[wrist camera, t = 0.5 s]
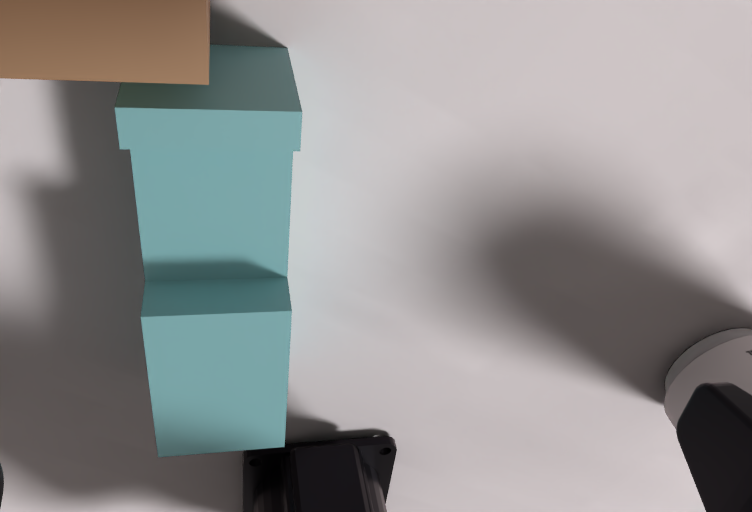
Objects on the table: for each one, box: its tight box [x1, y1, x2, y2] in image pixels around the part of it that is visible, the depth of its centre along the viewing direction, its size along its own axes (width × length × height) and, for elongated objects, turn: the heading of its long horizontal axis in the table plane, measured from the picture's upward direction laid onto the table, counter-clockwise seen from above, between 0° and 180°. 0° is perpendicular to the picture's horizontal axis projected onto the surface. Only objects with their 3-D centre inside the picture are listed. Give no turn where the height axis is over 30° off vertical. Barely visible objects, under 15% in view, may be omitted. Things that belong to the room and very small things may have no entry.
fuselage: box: [115, 44, 302, 457], centre depth 20 cm, size 12×4×4 cm, turn 173°
